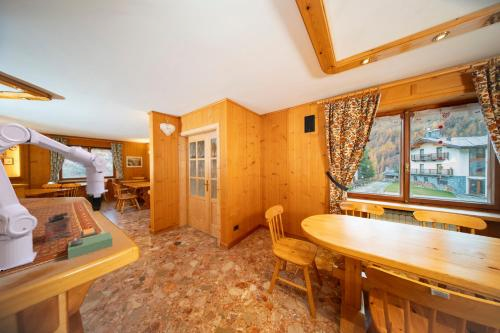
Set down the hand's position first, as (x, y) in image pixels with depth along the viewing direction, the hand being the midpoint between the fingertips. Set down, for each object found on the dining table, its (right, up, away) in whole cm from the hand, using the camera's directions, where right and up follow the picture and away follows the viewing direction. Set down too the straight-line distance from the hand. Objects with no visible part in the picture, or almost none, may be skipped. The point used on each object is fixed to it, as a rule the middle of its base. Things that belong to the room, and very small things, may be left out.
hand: (96, 210), depth 71 cm
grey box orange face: (+6, -10, -9) cm, 15 cm away
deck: (+10, -10, -12) cm, 18 cm away
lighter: (-12, -11, -4) cm, 17 cm away
